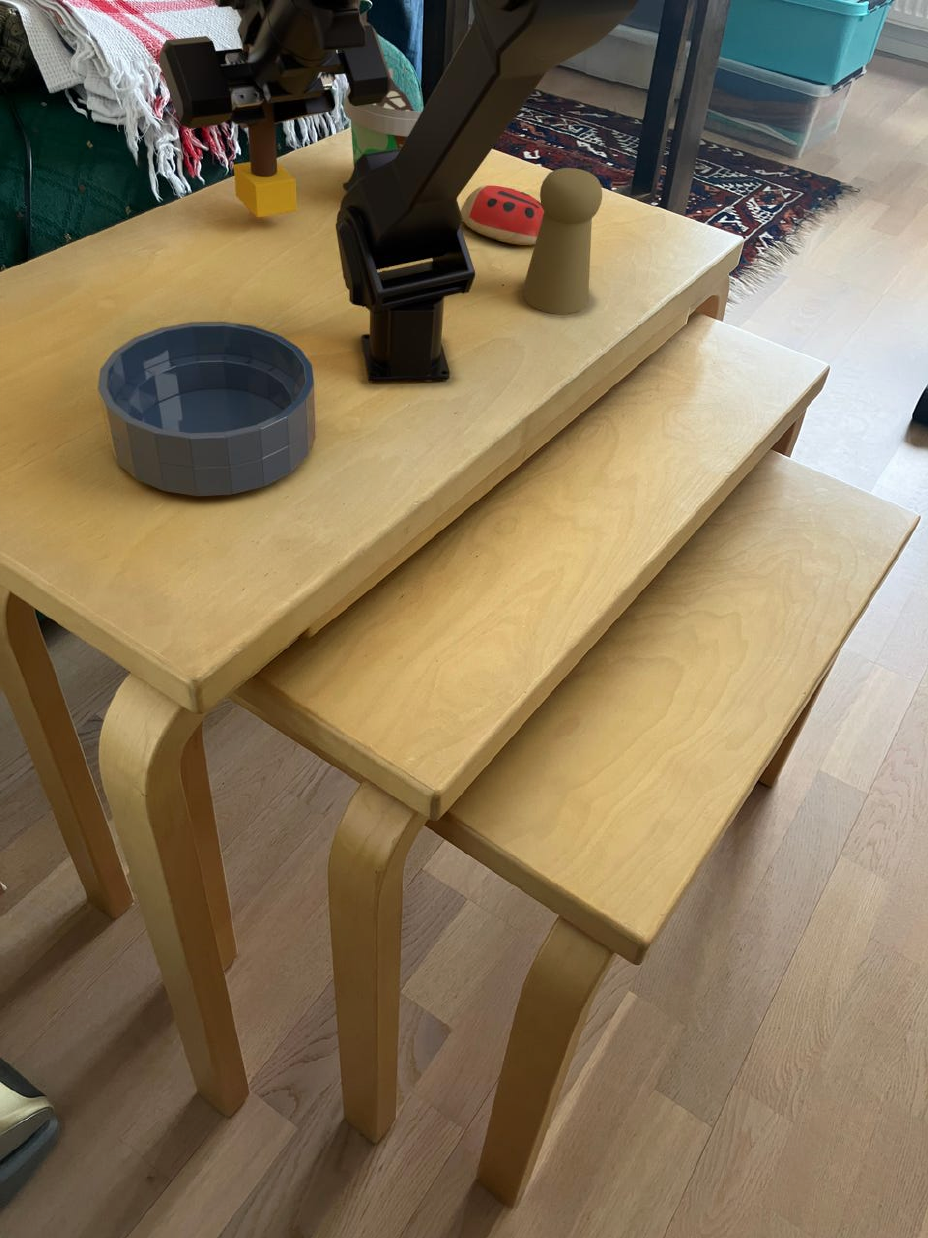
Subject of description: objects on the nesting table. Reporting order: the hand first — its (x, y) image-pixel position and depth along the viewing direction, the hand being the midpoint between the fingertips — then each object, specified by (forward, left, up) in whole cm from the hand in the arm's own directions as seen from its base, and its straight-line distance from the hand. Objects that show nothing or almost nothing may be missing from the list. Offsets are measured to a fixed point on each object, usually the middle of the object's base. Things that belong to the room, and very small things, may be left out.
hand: (255, 120), depth 92 cm
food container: (+5, -12, -9) cm, 15 cm away
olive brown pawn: (-16, -26, -9) cm, 32 cm away
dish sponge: (-1, -1, -7) cm, 7 cm away
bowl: (-36, +4, -9) cm, 38 cm away
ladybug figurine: (-3, -24, -9) cm, 25 cm away
